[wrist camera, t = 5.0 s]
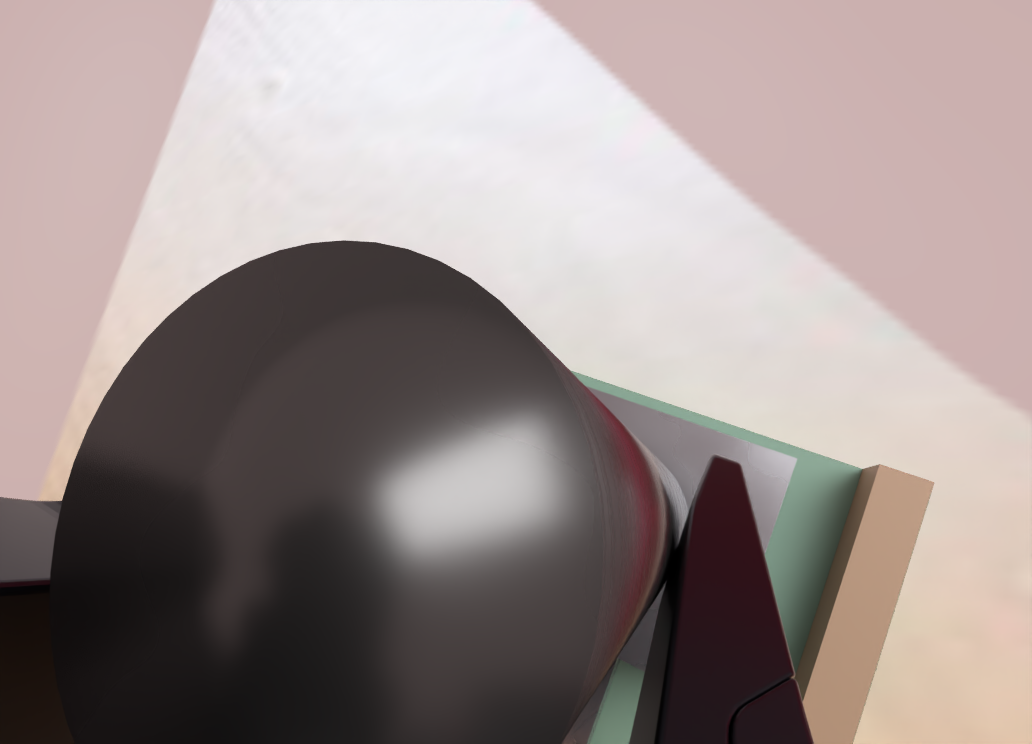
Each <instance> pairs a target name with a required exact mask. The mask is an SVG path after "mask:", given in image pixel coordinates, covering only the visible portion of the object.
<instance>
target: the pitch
mask: <svg viewBox="0 0 1032 744" xmlns="http://www.w3.org/2000/svg"><path fill="white" fill-rule="evenodd" d="M571 372H572V373H573V374H574V375H575V376H576V377H577V378H578V379H579V380H580V381H581V382H582V383H583V384H584V385H585V386H588V387H590V388H593V389H596V390H599V391H602V392H605V393H608V394H611V395H614V396H617V397H620V398H622V399H625V400H628V401H631V402H634V403H637V404H640V405H643V406H646V407H649V408H652V409H654V410H657V411H660V412H663V413H666V414H669V415H672V416H675V417H678V418H681V419H684V420H686V421H689V422H692V423H695V424H698V425H701V426H704V427H707V428H710V429H713V430H716V431H718V432H721V433H724V434H727V435H730V436H733V437H736V438H739V439H742V440H745V441H748V442H750V443H753V444H756V445H759V446H762V447H765V448H768V449H771V450H774V451H777V452H780V453H783V454H785V455H788V456H791V457H794V458H797V461H796V464H795V467H794V470H793V473H792V476H791V479H790V482H789V485H788V488H787V491H786V494H785V496H784V499H783V502H782V505H781V508H780V511H779V514H778V517H777V520H776V523H775V526H774V529H773V532H772V535H771V538H770V541H769V544H768V547H767V550H766V553H765V558H766V562H767V565H768V569H769V573H770V577H771V581H772V585H773V589H774V593H775V597H776V601H777V605H778V608H779V612H780V616H781V620H782V624H783V628H784V632H785V636H786V640H787V644H788V648H789V652H790V655H791V659H792V663H793V667H794V671H795V677H794V679H795V680H796V681H797V682H798V685H799V689H800V693H801V697H802V701H803V705H804V709H805V713H806V716H807V720H808V723H809V727H810V730H811V734H812V737H813V741H814V744H853V741H854V738H855V735H856V731H857V728H858V725H859V722H860V719H861V715H862V712H863V709H864V706H865V703H866V700H867V696H868V693H869V690H870V687H871V684H872V680H873V677H874V674H875V671H876V668H877V664H878V661H879V658H880V655H881V652H882V649H883V645H884V642H885V639H886V636H887V633H888V629H889V626H890V623H891V620H892V617H893V613H894V610H895V607H896V604H897V601H898V597H899V594H900V591H901V588H902V585H903V582H904V578H905V575H906V572H907V569H908V566H909V562H910V559H911V556H912V553H913V550H914V546H915V543H916V540H917V537H918V534H919V531H920V527H921V524H922V521H923V518H924V515H925V511H926V508H927V505H928V502H929V499H930V495H931V492H932V488H933V485H934V482H932V481H929V480H926V479H923V478H920V477H917V476H914V475H910V474H907V473H904V472H901V471H898V470H895V469H892V468H889V467H886V466H883V465H880V464H879V465H876V466H872V467H869V468H865V469H861V468H858V467H855V466H852V465H849V464H846V463H843V462H840V461H837V460H834V459H831V458H828V457H825V456H822V455H819V454H816V453H813V452H810V451H807V450H804V449H801V448H798V447H796V446H793V445H790V444H787V443H784V442H781V441H778V440H775V439H772V438H769V437H766V436H763V435H760V434H757V433H754V432H751V431H748V430H745V429H742V428H739V427H736V426H733V425H730V424H727V423H724V422H721V421H718V420H715V419H712V418H709V417H707V416H704V415H701V414H698V413H695V412H692V411H689V410H686V409H683V408H680V407H677V406H674V405H671V404H668V403H665V402H662V401H659V400H656V399H653V398H650V397H647V396H644V395H641V394H638V393H635V392H632V391H629V390H626V389H623V388H620V387H617V386H615V385H612V384H609V383H606V382H603V381H600V380H597V379H594V378H591V377H588V376H585V375H582V374H579V373H576V372H573V371H571ZM644 673H645V672H644V671H642V670H640V669H638V668H636V667H634V666H632V665H630V664H628V663H626V662H624V661H622V660H620V661H619V664H618V667H617V669H616V672H615V675H614V678H613V681H612V683H611V686H610V689H609V692H608V695H607V697H606V700H605V703H604V706H603V709H602V711H601V714H600V717H599V720H598V723H597V725H596V728H595V731H594V734H593V737H592V739H591V742H590V744H629V741H630V737H631V732H632V728H633V723H634V718H635V714H636V709H637V705H638V700H639V696H640V691H641V687H642V682H643V678H644Z"/></svg>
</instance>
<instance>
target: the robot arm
mask: <svg viewBox="0 0 1032 744" xmlns="http://www.w3.org/2000/svg"><path fill="white" fill-rule="evenodd" d="M61 505H62V501H30V500H21V499H12V498H3V497H0V744H75V743H74V740H73V738H72V735H71V733H70V730H69V727H68V724H67V721H66V717H65V713H64V709H63V706H62V702H61V698H60V695H59V691H58V687H57V680H56V674H55V668H54V662H53V656H52V649H51V633H50V617H49V599H50V571H51V563H52V555H53V547H54V539H55V532H56V528H57V523H58V518H59V514H60V509H61ZM794 677H795V671H794V667H793V663H792V659H791V655H790V652H789V648H788V644H787V640H786V636H785V632H784V628H783V624H782V620H781V616H780V612H779V608H778V605H777V601H776V597H775V593H774V589H773V585H772V581H771V577H770V573H769V569H768V565H767V562H766V558H765V554H764V550H763V546H762V542H761V538H760V534H759V530H758V526H757V522H756V518H755V515H754V511H753V507H752V503H751V499H750V495H749V491H748V487H747V483H746V479H745V475H744V472H743V468H742V465H741V464H740V463H739V462H737V461H734V460H732V459H729V458H726V457H723V456H720V455H718V454H713V455H712V456H711V457H710V459H709V461H708V464H707V466H706V469H705V471H704V473H703V476H702V478H701V481H700V483H699V485H698V488H697V490H696V493H695V495H694V498H693V500H692V503H691V506H690V509H689V512H688V515H687V518H686V521H685V525H684V528H683V531H682V534H681V537H680V540H679V544H678V547H677V550H676V553H675V556H674V559H673V563H672V566H671V569H670V572H669V575H668V578H667V582H666V585H665V588H664V591H663V594H662V598H661V602H660V606H659V610H658V614H657V619H656V623H655V628H654V632H653V637H652V642H651V646H650V651H649V655H648V660H647V664H646V669H645V673H644V678H643V682H642V687H641V691H640V696H639V700H638V705H637V709H636V714H635V718H634V723H633V728H632V732H631V737H630V741H629V744H814V741H813V737H812V734H811V730H810V727H809V723H808V720H807V716H806V713H805V709H804V705H803V701H802V697H801V693H800V689H799V685H798V682H797V681H796V680H795V679H794Z"/></svg>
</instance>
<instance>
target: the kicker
mask: <svg viewBox="0 0 1032 744" xmlns="http://www.w3.org/2000/svg"><path fill="white" fill-rule="evenodd" d="M713 454H718V455H720V456H723V457H726V458H729V459H732V460H734V461H737V462H739V463H740V464H741V465H742V468H743V472H744V475H745V479H746V483H747V487H748V491H749V495H750V499H751V503H752V507H753V511H754V515H755V518H756V522H757V526H758V530H759V534H760V538H761V542H762V546H763V550H764V554H765V553H766V550H767V547H768V544H769V541H770V538H771V535H772V532H773V529H774V526H775V523H776V520H777V517H778V514H779V511H780V508H781V505H782V502H783V499H784V496H785V494H786V491H787V488H788V485H789V482H790V479H791V476H792V473H793V470H794V467H795V464H796V461H797V458H794V457H791V456H788V455H785V454H783V453H780V452H777V451H774V450H771V449H768V448H765V447H762V446H759V445H756V444H753V443H750V442H748V441H745V440H742V439H739V438H736V437H733V436H730V435H727V434H724V433H721V432H718V431H716V430H713V429H710V428H707V427H704V426H701V425H698V424H695V423H692V422H689V421H686V420H684V419H681V418H678V417H675V416H672V415H669V414H666V413H663V412H660V411H657V410H654V409H652V408H649V407H646V406H643V405H640V404H637V403H634V402H631V401H628V400H625V399H622V398H620V397H617V396H614V395H611V394H608V393H605V392H602V391H599V390H596V389H593V388H590V387H588V386H585V385H584V384H583V383H582V382H581V381H580V380H579V379H578V378H577V377H576V376H575V375H574V374H573V373H572V372H571V371H570V370H569V369H568V368H567V367H566V366H565V365H564V364H563V363H562V362H561V361H560V360H559V359H558V358H557V357H556V356H555V355H554V354H553V353H552V352H551V351H550V350H549V349H548V348H547V347H546V346H545V345H544V344H543V343H542V342H541V341H540V340H539V339H538V338H537V337H536V336H535V335H534V334H533V333H532V332H531V331H530V330H529V329H528V328H527V327H526V326H525V325H524V324H523V323H522V322H521V321H520V320H519V319H518V318H517V317H516V316H515V315H514V314H513V313H512V312H511V311H510V310H509V309H508V308H507V307H506V306H505V305H504V304H503V303H502V302H501V301H500V300H498V299H497V298H496V297H494V296H493V295H492V294H490V293H489V292H488V291H487V290H485V289H484V288H483V287H481V286H480V285H479V284H478V283H476V282H475V281H474V280H472V279H471V278H469V277H468V276H466V275H464V274H462V273H460V272H459V271H457V270H455V269H453V268H451V267H450V266H448V265H446V264H444V263H442V262H441V261H438V260H436V259H433V258H430V257H428V256H425V255H422V254H419V253H417V252H414V251H411V250H409V249H405V248H400V247H395V246H390V245H385V244H381V243H376V242H359V241H332V242H320V243H310V244H306V245H301V246H297V247H292V248H288V249H283V250H279V251H277V252H274V253H271V254H268V255H266V256H263V257H260V258H258V259H255V260H252V261H249V262H248V263H246V264H244V265H242V266H240V267H238V268H236V269H234V270H232V271H230V272H228V273H226V274H224V275H222V276H220V277H219V278H217V279H216V280H214V281H213V282H212V283H210V284H209V285H207V286H206V287H204V288H203V289H201V290H200V291H198V292H197V293H195V294H194V295H192V296H191V297H190V298H189V299H188V300H187V301H185V302H184V303H183V304H182V305H181V306H179V307H178V308H177V309H176V310H175V311H173V312H172V313H171V314H170V315H169V316H168V317H167V318H166V319H165V320H164V321H163V322H162V323H161V324H160V325H159V326H158V327H157V328H156V329H155V330H154V331H153V332H152V333H151V334H150V335H149V336H148V337H147V338H146V339H145V341H144V342H143V343H142V344H141V346H140V347H139V348H138V349H137V351H136V352H135V353H134V355H133V356H132V357H131V358H130V360H129V361H128V362H127V363H126V365H125V366H124V367H123V369H122V370H121V372H120V373H119V375H118V377H117V378H116V380H115V381H114V383H113V384H112V386H111V387H110V389H109V390H108V392H107V394H106V395H105V397H104V399H103V400H102V402H101V404H100V406H99V408H98V410H97V412H96V414H95V416H94V418H93V420H92V422H91V423H90V425H89V427H88V429H87V432H86V434H85V437H84V439H83V442H82V444H81V446H80V449H79V451H78V454H77V456H76V459H75V461H74V464H73V467H72V470H71V473H70V477H69V480H68V483H67V486H66V490H65V493H64V496H63V500H62V505H61V509H60V514H59V518H58V523H57V528H56V532H55V539H54V547H53V555H52V563H51V571H50V599H49V617H50V633H51V649H52V656H53V662H54V668H55V674H56V680H57V687H58V691H59V695H60V698H61V702H62V706H63V709H64V713H65V717H66V721H67V724H68V727H69V730H70V733H71V735H72V738H73V740H74V743H75V744H590V742H591V739H592V737H593V734H594V731H595V728H596V725H597V723H598V720H599V717H600V714H601V711H602V709H603V706H604V703H605V700H606V697H607V695H608V692H609V689H610V686H611V683H612V681H613V678H614V675H615V672H616V669H617V667H618V664H619V661H620V660H622V661H624V662H626V663H628V664H630V665H632V666H634V667H636V668H638V669H640V670H642V671H644V672H645V669H646V664H647V660H648V655H649V651H650V646H651V642H652V637H653V632H654V628H655V623H656V619H657V614H658V610H659V606H660V602H661V598H662V594H663V591H664V588H665V585H666V582H667V578H668V575H669V572H670V569H671V566H672V563H673V559H674V556H675V553H676V550H677V547H678V544H679V540H680V537H681V534H682V531H683V528H684V525H685V521H686V518H687V515H688V512H689V509H690V506H691V503H692V500H693V498H694V495H695V493H696V490H697V488H698V485H699V483H700V481H701V478H702V476H703V473H704V471H705V469H706V466H707V464H708V461H709V459H710V457H711V456H712V455H713Z"/></svg>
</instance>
